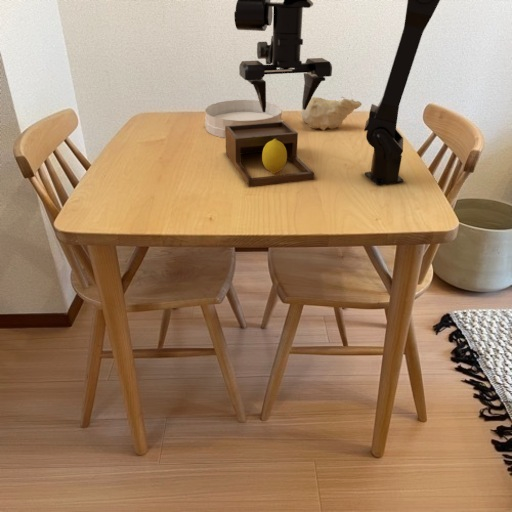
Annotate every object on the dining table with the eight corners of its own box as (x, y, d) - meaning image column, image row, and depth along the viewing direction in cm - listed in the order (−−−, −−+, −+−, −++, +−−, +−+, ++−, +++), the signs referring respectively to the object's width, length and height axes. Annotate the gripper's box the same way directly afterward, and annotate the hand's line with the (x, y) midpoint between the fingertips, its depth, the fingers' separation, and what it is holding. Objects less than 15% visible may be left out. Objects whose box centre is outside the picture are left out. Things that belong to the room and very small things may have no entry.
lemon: (286, 169, 111) (288, 135, 106) (285, 178, 106) (287, 143, 102) (262, 168, 111) (263, 134, 107) (260, 177, 106) (261, 142, 102)
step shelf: (313, 179, 106) (316, 148, 102) (248, 186, 102) (248, 155, 98) (282, 148, 123) (283, 121, 119) (225, 153, 119) (225, 125, 116)
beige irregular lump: (289, 134, 138) (319, 111, 125) (288, 111, 140) (318, 85, 127) (332, 144, 145) (365, 123, 132) (331, 122, 147) (363, 99, 134)
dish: (213, 142, 126) (212, 123, 124) (199, 119, 144) (198, 102, 142) (292, 135, 131) (293, 117, 129) (269, 114, 150) (269, 97, 147)
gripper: (316, 26, 105) (311, 99, 113) (232, 28, 100) (234, 103, 109) (336, 33, 95) (329, 111, 104) (245, 35, 91) (245, 117, 100)
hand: (284, 110), depth 104 cm, fingers open, 9 cm apart
